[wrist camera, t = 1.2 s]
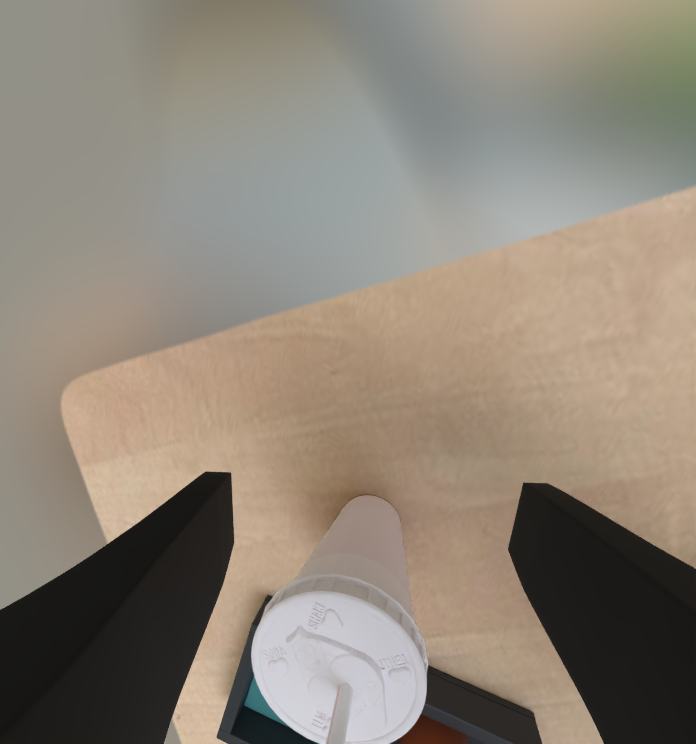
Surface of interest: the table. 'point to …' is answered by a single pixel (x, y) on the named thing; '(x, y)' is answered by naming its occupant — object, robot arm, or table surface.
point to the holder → (443, 703)
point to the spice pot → (432, 733)
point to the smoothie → (346, 636)
